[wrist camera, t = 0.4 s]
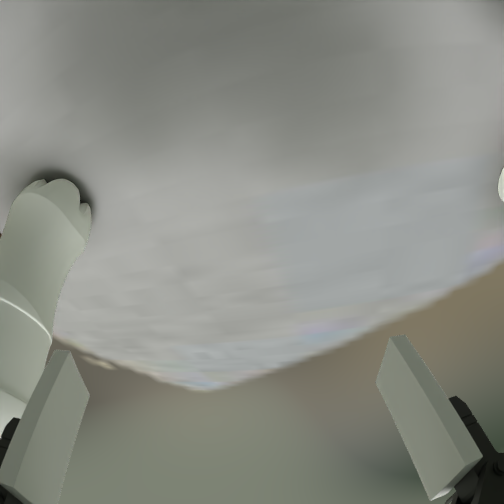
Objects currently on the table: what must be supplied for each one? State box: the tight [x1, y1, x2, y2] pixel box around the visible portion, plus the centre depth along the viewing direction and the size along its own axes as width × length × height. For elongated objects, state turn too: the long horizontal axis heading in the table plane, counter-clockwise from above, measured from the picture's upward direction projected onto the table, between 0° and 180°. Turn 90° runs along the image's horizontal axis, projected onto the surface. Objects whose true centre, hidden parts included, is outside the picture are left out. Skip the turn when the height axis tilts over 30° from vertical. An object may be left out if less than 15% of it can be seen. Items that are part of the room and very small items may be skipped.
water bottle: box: [0, 179, 91, 438], centre depth 15 cm, size 7×7×25 cm
